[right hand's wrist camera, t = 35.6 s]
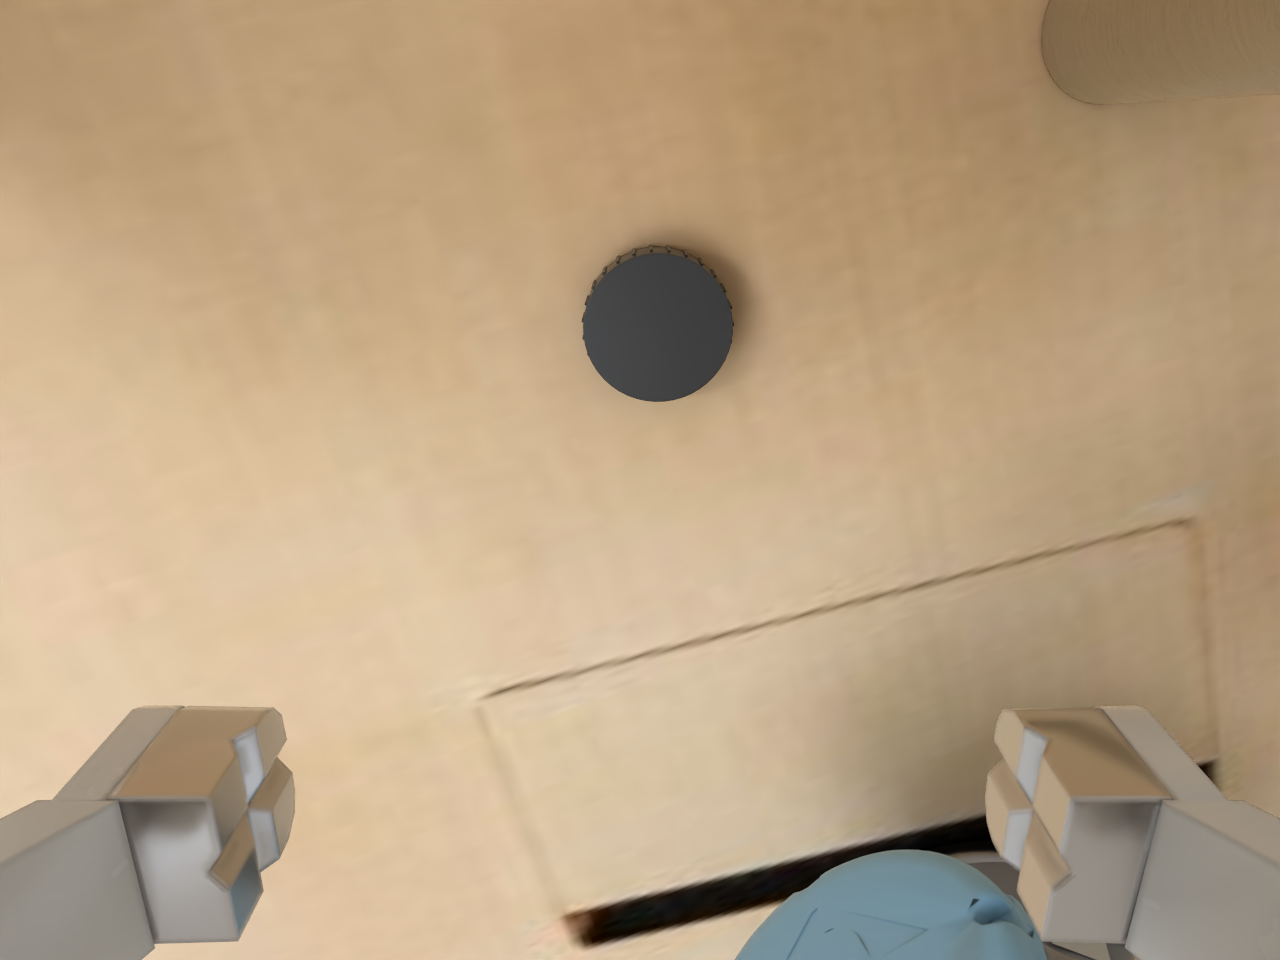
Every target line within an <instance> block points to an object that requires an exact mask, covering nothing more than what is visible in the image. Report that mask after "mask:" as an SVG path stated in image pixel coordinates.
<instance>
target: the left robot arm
mask: <svg viewBox="0 0 1280 960" xmlns="http://www.w3.org/2000/svg"><path fill="white" fill-rule="evenodd" d="M1019 874H1020V872H1018V871H1017V870H1016V869H1014V868H1013V867H1011V866H1010V865H1009V864H1007V863H1006V862H1004V861H1003V860H1002V859H1001V858H1000V856H999V854H998V852H997V850H996V848H995V846H994V844H993V842H992V841H972V842H962V843H954V844H949V845H944V846H939V847H935V848H931V849H928V850H924V851H923V850H892V851H884V852H879V853H874V854H870V855H866V856H862V857H859V858H857V859H854V860H851V861H849V862H846V863H844V864H841V865H839V866H837V867H835V868H833V869H831V870H829V871H827V872H825V873H824V874H823V875H821V876H820V878H819V879H818V880H816V881H815V882H814V883H813V884H812V885H810V886H809V887H808V888H806V889H804V890H802V891H800V892H796V893H794V894H792V895H791V896H790V897H789V898H788V899H787V900H785V901H784V902H783V903H782V904H781V905H780V906H779V907H778V908H777V909H776V910H775V911H774V912H773V913H772V914H771V915H770V916H769V917H768V918H767V919H766V920H765V921H764V922H763V923H762V925H761V926H760V927H759V928H758V929H757V930H756V931H755V932H754V934H753V935H752V936H751V937H750V939H749V940H748V941H747V943H746V944H745V945H744V947H743V948H742V950H741V951H740V953H739V954H738V956H737V957H736V959H735V960H1134V956H1133V954H1132V953H1131V952H1129V951H1128V950H1127V949H1126V948H1125V945H1126V944H1118V943H1083V942H1047V941H1042V940H1041V938H1040V936H1039V934H1038V932H1037V930H1036V928H1035V926H1034V924H1033V922H1032V920H1031V918H1030V916H1029V914H1028V912H1027V911H1026V909H1025V907H1024V905H1023V903H1022V901H1021V899H1020V897H1019V895H1018V893H1017V885H1018V879H1019Z"/></svg>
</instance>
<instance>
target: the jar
mask: <svg viewBox="0 0 1280 960" xmlns="http://www.w3.org/2000/svg"><path fill="white" fill-rule="evenodd" d="M1042 51H1043V56H1044V60H1045V64H1046V66H1047V69H1048V71H1049V73H1050V75H1051V77H1052V78H1053V80H1054V81H1055V82H1056V84H1057V85H1058V86H1059V87H1060V88H1061V89H1062V90H1063V91H1064V92H1065V93H1067V94H1068V95H1070V96H1071V97H1073V98H1075V99H1077V100H1080V101H1083V102H1086V103H1090V104H1118V103H1135V102H1152V101H1169V100H1186V99H1202V98H1219V97H1236V96H1253V95H1270V94H1280V0H1050V2H1049V5H1048V8H1047V10H1046V13H1045V17H1044V22H1043V28H1042Z"/></svg>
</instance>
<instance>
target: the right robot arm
mask: <svg viewBox="0 0 1280 960" xmlns="http://www.w3.org/2000/svg"><path fill="white" fill-rule="evenodd" d="M286 740H287V738H286V733H285V729H284V724H283V719H282V715H281V714H280V713H279V712H278V711H277V710H276V709H275V708H266V707H218V706H187V707H184V706H142V707H139V708H136V709H133V710H132V711H131V712H130V713H129V714H128V715H127V716H126V717H125V718H124V720H123V721H122V722H121V723H120V724H119V725H118V726H117V727H116V729H115V730H114V731H113V732H112V733H111V734H110V735H109V736H108V738H107V739H106V740H105V741H104V742H103V743H102V744H101V745H100V747H99V748H98V749H97V750H96V751H95V752H94V753H93V754H92V756H91V757H90V758H89V759H88V760H87V761H86V762H85V763H84V765H83V766H82V767H81V768H80V769H79V770H78V771H77V772H76V774H75V775H74V776H73V777H72V778H71V779H70V780H69V781H68V783H67V784H66V785H65V786H64V787H63V788H62V789H61V790H60V792H59V793H58V794H57V795H56V796H55V797H54V798H53V799H52V800H37V801H35V802H33V803H31V804H29V805H27V806H25V807H23V808H21V809H19V810H17V811H15V812H13V813H11V814H9V815H7V816H5V817H3V818H1V819H0V960H142V959H143V958H144V957H145V956H146V955H147V954H149V953H150V952H151V951H152V950H153V949H155V945H154V944H161V943H196V942H230V941H238V940H239V938H240V936H241V934H242V932H243V930H244V928H245V926H246V924H247V922H248V920H249V919H250V917H251V915H252V913H253V911H254V909H255V907H256V905H257V903H258V901H259V899H260V897H261V895H262V893H263V885H262V880H261V874H260V872H262V871H263V870H264V869H266V868H267V867H269V866H270V865H271V864H273V863H274V862H276V861H277V860H278V859H279V858H280V856H281V854H282V852H283V850H284V848H285V846H286V843H287V841H288V839H289V836H290V831H291V827H292V822H293V818H294V813H295V787H294V781H293V774H292V772H291V771H290V770H289V769H288V768H287V767H286V766H285V765H284V764H283V763H282V762H281V761H280V760H279V759H278V758H277V756H278V754H279V752H280V751H281V749H282V747H283V745H284V744H285V742H286ZM993 740H994V742H995V744H996V745H997V747H998V749H999V751H1000V752H1001V754H1002V756H1003V758H1002V759H1001V760H1000V761H999V762H998V763H997V764H996V765H995V766H994V767H993V768H992V769H991V770H990V771H989V772H988V774H987V782H986V790H985V808H986V819H987V825H988V828H989V832H990V835H991V839H992V842H993V844H994V846H995V848H996V850H997V852H998V854H999V856H1000V858H1001V859H1002V860H1003V861H1004V862H1006V863H1007V864H1009V865H1010V866H1011V867H1013V868H1014V869H1016V870H1017V871H1018V872H1020V874H1019V879H1018V885H1017V893H1018V895H1019V897H1020V899H1021V901H1022V903H1023V905H1024V907H1025V909H1026V911H1027V912H1028V914H1029V916H1030V918H1031V920H1032V922H1033V924H1034V926H1035V928H1036V930H1037V932H1038V934H1039V936H1040V938H1041V940H1042V941H1047V942H1083V943H1118V944H1126V945H1125V948H1126V949H1127V950H1128V951H1129V952H1131V953H1132V954H1133V955H1134V956H1135V957H1137V958H1138V959H1139V960H1280V819H1279V818H1277V817H1275V816H1273V815H1271V814H1269V813H1267V812H1265V811H1263V810H1261V809H1259V808H1257V807H1255V806H1253V805H1251V804H1249V803H1247V802H1245V801H1243V800H1228V799H1227V798H1226V797H1225V796H1224V795H1223V794H1222V793H1221V792H1220V790H1219V789H1218V788H1217V787H1216V786H1215V785H1214V784H1213V783H1212V781H1211V780H1210V779H1209V778H1208V777H1207V776H1206V775H1205V774H1204V772H1203V771H1202V770H1201V769H1200V768H1199V767H1198V766H1197V765H1196V763H1195V762H1194V761H1193V760H1192V759H1191V758H1190V757H1189V756H1188V754H1187V753H1186V752H1185V751H1184V750H1183V749H1182V748H1181V747H1180V745H1179V744H1178V743H1177V742H1176V741H1175V740H1174V739H1173V738H1172V736H1171V735H1170V734H1169V733H1168V732H1167V731H1166V730H1165V729H1164V727H1163V726H1162V725H1161V724H1160V723H1159V722H1158V721H1157V720H1156V718H1155V717H1154V716H1153V715H1152V714H1151V713H1150V712H1149V711H1148V710H1146V709H1144V708H1142V707H1140V706H1138V705H1124V706H1093V707H1092V708H1025V709H1002V711H1001V713H1000V715H999V717H998V719H997V721H996V727H995V732H994V738H993Z"/></svg>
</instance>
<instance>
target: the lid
mask: <svg viewBox="0 0 1280 960" xmlns="http://www.w3.org/2000/svg"><path fill="white" fill-rule="evenodd" d="M716 277H717V276H716V274H715V272H714V271H713V270H712V269H711V270H710V269H709V268H708V267H707V266H706V265H705V264H703V262H702V260H701V259H700V258H698V259H697V258H695V257H693V256H692V255H690V254H688V253H687V251H686V250H683V251H681V250H677V249H673V248H670V246H669V245H667V247H652V245H649V247H647V248H641V249H638V250H636V249H635V248H634V249H632V252H629V253H627V254H625V255H623V256H621V257H620V256H617V259H616V260H615V261H614V262H613V263H612V264H610V265H609V266H608V267H606V266H605V267H604V269H603V273H602V274H601V275H600V277H599V278H598V279H597V281H596V280H594V282H593V285H592V291H591V294H590V296H587V299H586V302H585V305H587V306H586V310H585V312H584V315H583V318H582V322H584V323H583V332H584V334H583V340H584V341H585V346H586V349H587V352H588V353H587V354H588V356H589V357H590V360H591V362H592V364H593V365H594V367H595V368H596V370H597V371H598V373H599V374H600V375H601V376H602V377H603V379H604V380H605V381H607V382H608V383H609V384H610V385H611V386H612V387H614V388H615V389H617V390H618V391H620V392H622V393H624V394H626V395H628V396H630V397H633V398H636V399H640V400H644V401H653V402H662V401H670V400H675V399H679V398H682V397H685V396H687V395H690V394H692V393H693V392H695V391H697V390H699V389H700V388H701V387H703V386H704V385H705V384H707V383H708V382H709V381H710V380H711V379H712V378H713V377H714V376H715V374H716V373H717V372H718V371H719V369H720V368H721V366H722V364H723V363H724V361H725V359H726V357H727V354H728V352H729V348H730V345H731V343H732V334H733V326H734V323H733V321H732V313H731V309H732V306H731V304H730V302H729V300H728V299H727V297H726V295H725V292H726V290H725V288H724V286H723V284H722V283H721V284H719V282H718V280H717V278H716Z"/></svg>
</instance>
